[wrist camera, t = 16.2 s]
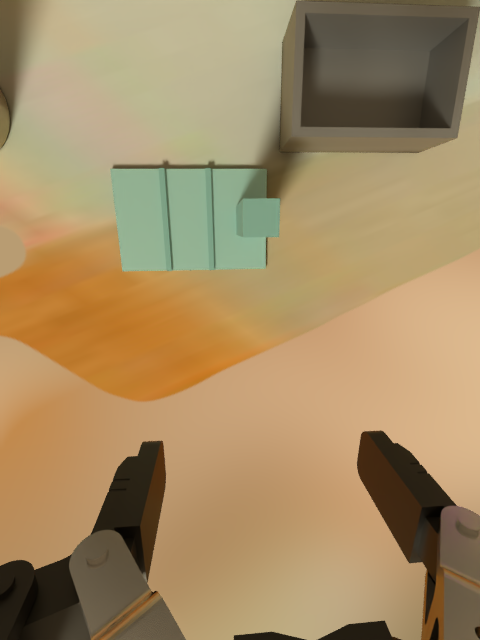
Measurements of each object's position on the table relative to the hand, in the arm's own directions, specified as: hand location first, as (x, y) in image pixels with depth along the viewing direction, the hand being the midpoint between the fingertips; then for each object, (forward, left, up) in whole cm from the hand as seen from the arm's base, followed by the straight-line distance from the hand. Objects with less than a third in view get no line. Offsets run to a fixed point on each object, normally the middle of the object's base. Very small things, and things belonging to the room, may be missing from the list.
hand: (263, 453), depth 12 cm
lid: (-9, +5, -28) cm, 30 cm away
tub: (-2, +25, -28) cm, 37 cm away
